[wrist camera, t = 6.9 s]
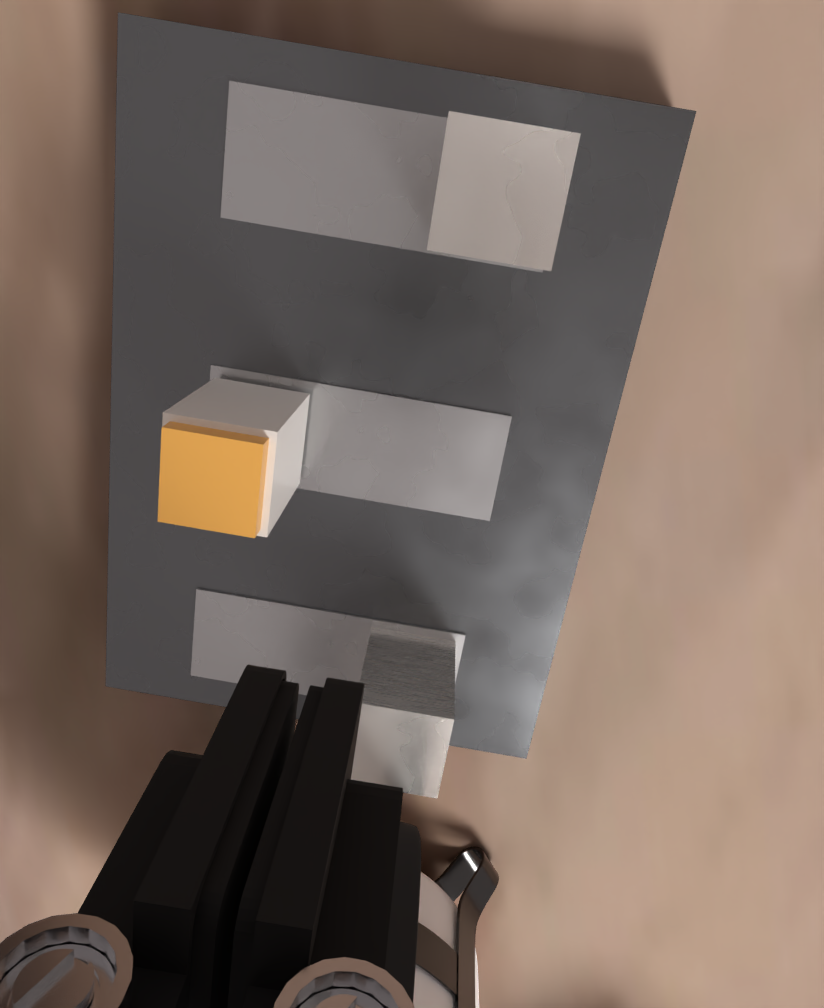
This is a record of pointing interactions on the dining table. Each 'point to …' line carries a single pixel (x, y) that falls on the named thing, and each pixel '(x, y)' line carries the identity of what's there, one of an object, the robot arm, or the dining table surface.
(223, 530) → the toggle
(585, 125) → the panel
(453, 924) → the coffee press
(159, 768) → the robot arm
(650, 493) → the dining table surface
